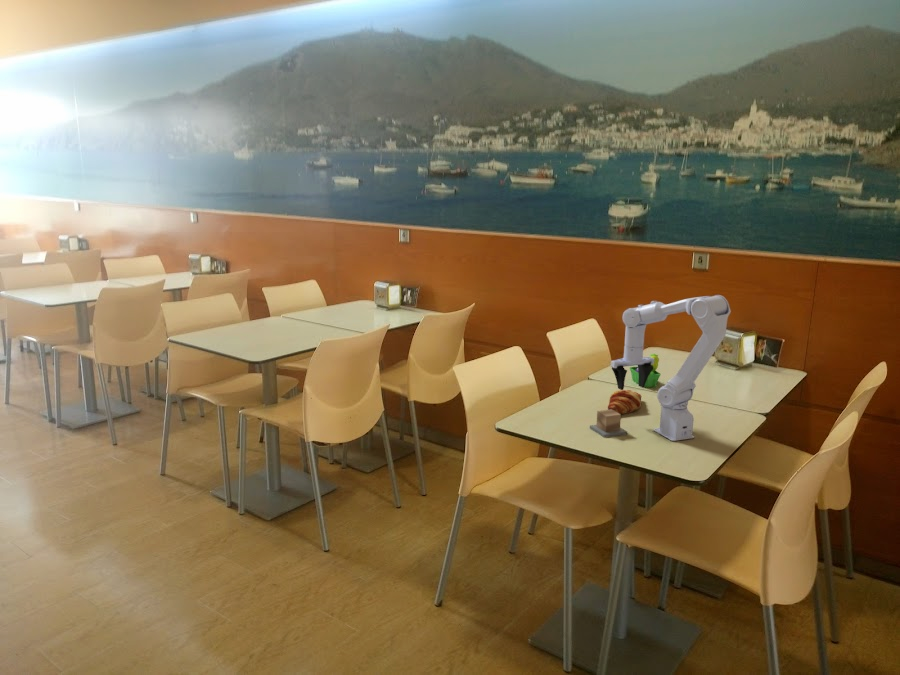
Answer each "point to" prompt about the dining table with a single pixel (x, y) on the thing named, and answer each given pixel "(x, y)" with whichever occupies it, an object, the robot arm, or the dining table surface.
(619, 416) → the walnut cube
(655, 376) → the fruit basket
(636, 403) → the croissant
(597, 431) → the slate coaster
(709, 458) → the dining table surface
